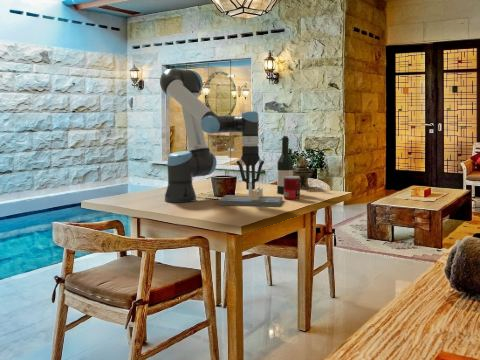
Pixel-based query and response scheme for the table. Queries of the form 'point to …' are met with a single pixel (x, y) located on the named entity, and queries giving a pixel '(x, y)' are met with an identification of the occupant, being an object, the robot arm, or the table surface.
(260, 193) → the fader
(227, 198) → the console
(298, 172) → the potted plant
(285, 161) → the wine bottle
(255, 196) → the fader
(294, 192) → the canned food
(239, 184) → the table surface
